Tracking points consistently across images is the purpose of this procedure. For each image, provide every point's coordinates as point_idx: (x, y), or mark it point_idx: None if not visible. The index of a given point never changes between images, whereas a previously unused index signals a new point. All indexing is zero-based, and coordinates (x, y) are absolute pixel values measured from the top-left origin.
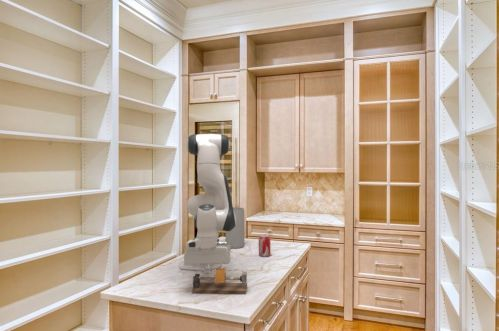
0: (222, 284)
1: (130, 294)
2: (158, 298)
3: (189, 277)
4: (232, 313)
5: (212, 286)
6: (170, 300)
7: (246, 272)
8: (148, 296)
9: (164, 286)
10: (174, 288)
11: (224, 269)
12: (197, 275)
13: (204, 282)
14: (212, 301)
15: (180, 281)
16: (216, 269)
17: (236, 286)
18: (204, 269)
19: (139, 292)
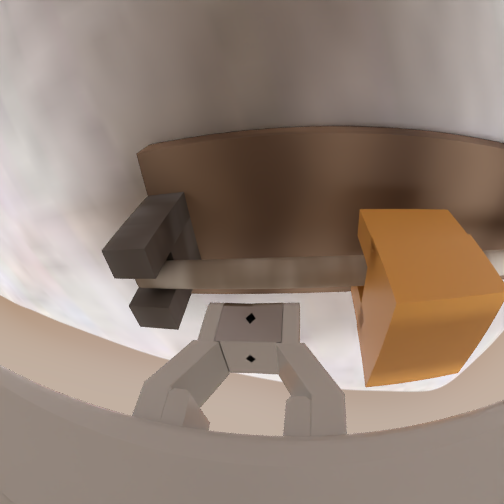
0: (398, 182)
1: (3, 287)
2: (86, 320)
3: (42, 20)
4: (405, 389)
5: (315, 231)
6: (138, 337)
7: None
8: (47, 303)
9: (13, 205)
10: (59, 221)
11: (477, 336)
12: (143, 274)
13: (208, 146)
14: (335, 345)
15: (26, 110)
16: (385, 352)
17: (489, 221)
18: (221, 378)
19: (5, 272)
